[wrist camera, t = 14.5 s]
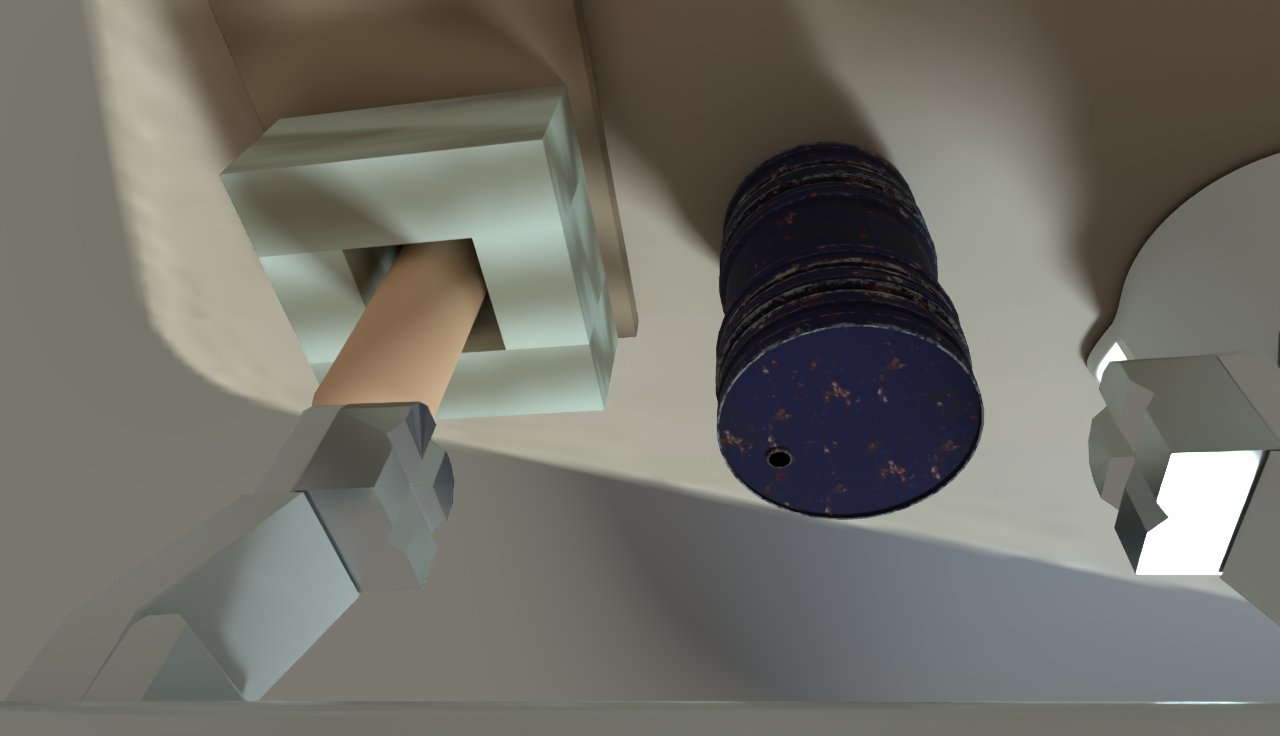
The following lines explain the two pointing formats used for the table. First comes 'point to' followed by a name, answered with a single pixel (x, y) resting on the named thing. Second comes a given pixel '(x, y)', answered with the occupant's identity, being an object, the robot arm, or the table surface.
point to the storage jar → (838, 341)
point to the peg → (410, 329)
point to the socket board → (426, 69)
